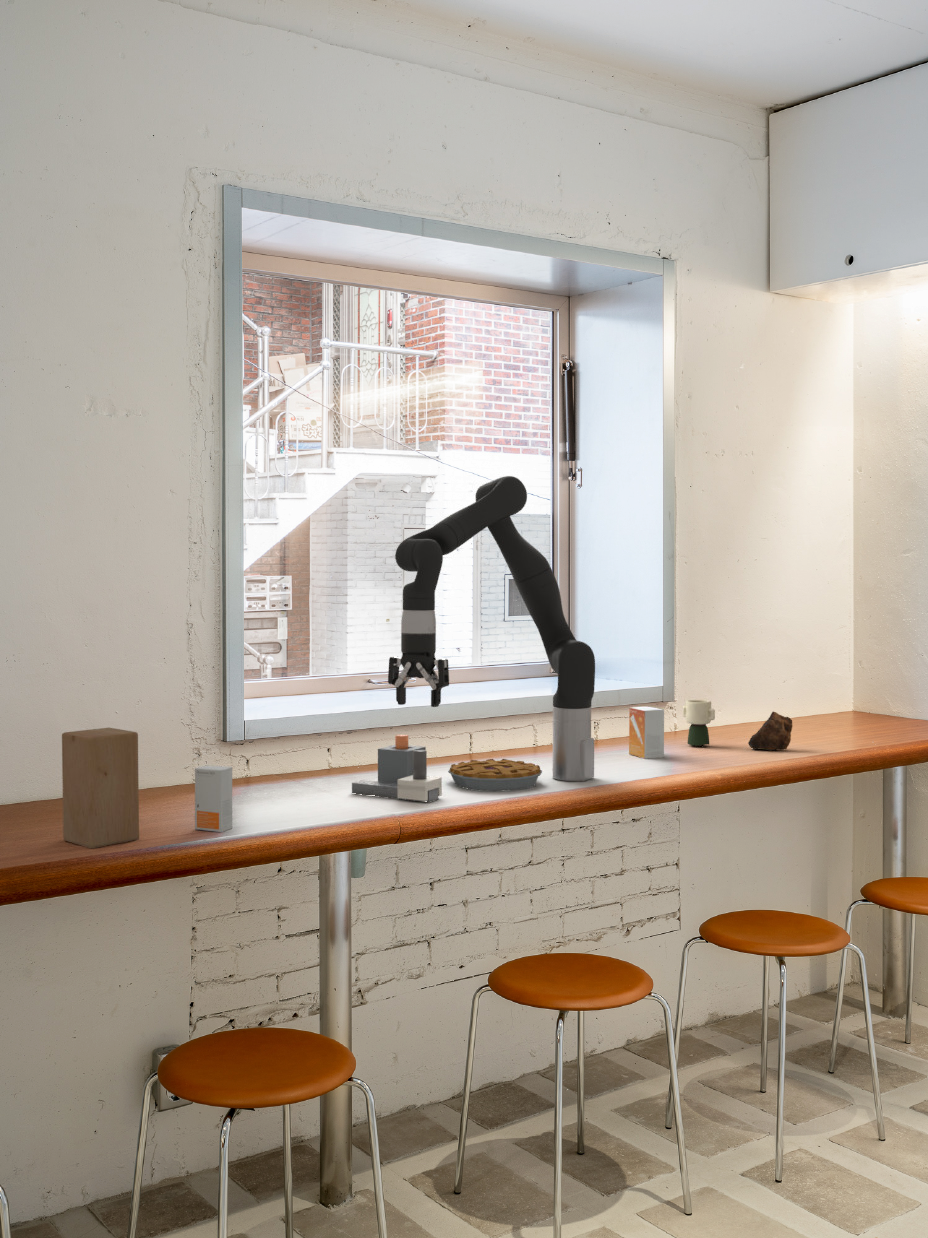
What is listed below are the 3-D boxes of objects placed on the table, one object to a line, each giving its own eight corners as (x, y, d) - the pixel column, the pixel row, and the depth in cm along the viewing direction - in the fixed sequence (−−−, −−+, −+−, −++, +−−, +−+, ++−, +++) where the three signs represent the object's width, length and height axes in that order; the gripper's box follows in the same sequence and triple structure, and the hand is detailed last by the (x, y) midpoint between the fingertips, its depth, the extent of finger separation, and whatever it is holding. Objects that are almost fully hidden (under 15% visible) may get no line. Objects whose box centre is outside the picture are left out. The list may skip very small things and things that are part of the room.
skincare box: (194, 830, 216) (193, 768, 216) (206, 825, 220) (206, 764, 220) (221, 833, 214) (220, 770, 214) (233, 828, 218) (233, 766, 217)
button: (410, 754, 262) (410, 735, 261) (403, 756, 259) (403, 737, 259) (399, 753, 263) (399, 734, 263) (392, 755, 260) (392, 736, 260)
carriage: (441, 795, 247) (441, 750, 247) (425, 801, 241) (425, 754, 241) (414, 792, 251) (414, 747, 250) (397, 798, 245) (397, 752, 244)
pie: (434, 780, 271) (434, 759, 271) (516, 773, 280) (516, 753, 279) (471, 796, 251) (471, 773, 251) (558, 789, 259) (558, 767, 259)
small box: (628, 754, 308) (628, 707, 308) (648, 753, 311) (648, 706, 310) (644, 759, 301) (644, 710, 300) (664, 757, 303) (665, 709, 303)
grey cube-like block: (425, 785, 263) (425, 746, 262) (407, 791, 256) (407, 751, 255) (396, 782, 267) (396, 744, 266) (377, 787, 260) (377, 748, 259)
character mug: (721, 747, 322) (722, 701, 321) (706, 749, 317) (707, 703, 317) (690, 743, 330) (690, 698, 329) (675, 745, 325) (675, 700, 325)
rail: (438, 799, 246) (438, 788, 246) (428, 802, 243) (428, 791, 242) (362, 791, 256) (361, 780, 256) (351, 794, 252) (351, 782, 252)
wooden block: (90, 849, 201) (89, 737, 200) (62, 840, 208) (60, 732, 207) (140, 839, 208) (139, 731, 208) (111, 831, 215) (109, 727, 214)
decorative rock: (791, 749, 318) (791, 711, 318) (793, 752, 312) (794, 713, 312) (747, 748, 320) (748, 710, 320) (749, 751, 314) (749, 712, 314)
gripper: (455, 631, 245) (455, 706, 246) (400, 629, 252) (400, 702, 253) (437, 632, 238) (437, 709, 239) (381, 630, 246) (381, 705, 246)
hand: (418, 705), depth 246 cm, fingers open, 8 cm apart
